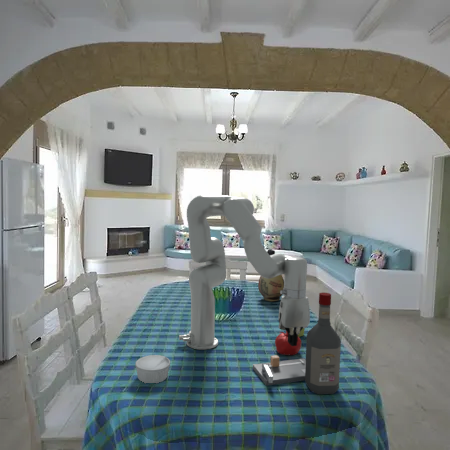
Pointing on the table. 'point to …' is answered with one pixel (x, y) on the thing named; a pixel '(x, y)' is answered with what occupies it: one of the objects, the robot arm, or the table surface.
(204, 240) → the robot arm
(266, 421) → the table surface
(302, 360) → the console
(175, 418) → the table surface
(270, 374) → the silver metal bar
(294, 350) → the pomegranate
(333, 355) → the liquor
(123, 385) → the table surface
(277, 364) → the fader knob
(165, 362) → the ramekin
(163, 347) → the table surface
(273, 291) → the ceramic jug
